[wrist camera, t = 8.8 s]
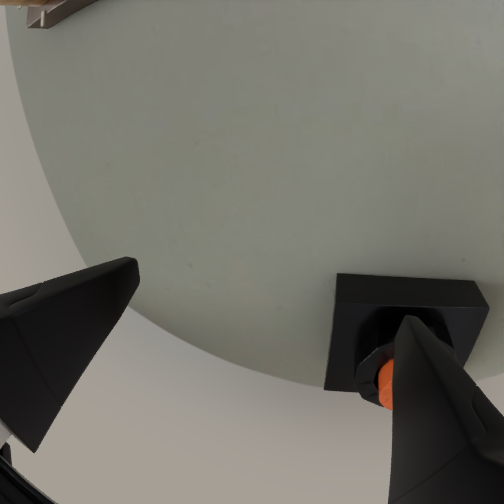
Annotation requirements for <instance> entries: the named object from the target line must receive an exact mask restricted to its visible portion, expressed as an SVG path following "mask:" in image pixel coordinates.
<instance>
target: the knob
mask: <svg viewBox="0 0 504 504" xmlns="http://www.w3.org/2000/svg"><path fill="white" fill-rule="evenodd" d="M47 1H48V0H0V5H15V6H33V7H39V6H41V5H43V4H45V3H46V2H47Z"/></svg>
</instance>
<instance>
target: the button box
mask: <svg viewBox="0 0 504 504" xmlns="http://www.w3.org/2000/svg"><path fill="white" fill-rule="evenodd" d="M489 309H490V308H489V306H488V304H487V302H486V300H485V298H484V297H483V295H482V293H481V291H480V290H479V288H478V286H477V285H476V283H475V281H467V280H446V279H426V278H407V277H389V276H372V275H356V274H340V273H337V277H336V289H335V300H334V310H333V319H332V328H331V336H330V344H329V352H328V360H327V368H326V376H325V383H324V390H328V391H342V392H359V393H360V395H361V397H362V398H363V399H365V400H367V401H369V402H372V403H374V404H376V405H379V406H382V407H384V406H383V405H382V404H381V403H380V401H379V382H378V375H379V371H380V369H381V368H382V366H383V365H384V364H385V363H386V362H387V361H388V360H390V359H392V358H394V342H395V337H396V334H397V332H398V329H399V327H400V325H401V323H402V320H403V318H404V317H405V316H406V315H410V316H416V317H418V318H419V319H420V320H421V321H422V322H423V323H424V324H425V326H426V327H427V328H428V329H429V330H430V331H431V332H432V333H433V334H434V335H435V337H436V338H437V339H438V340H439V341H440V342H441V343H442V344H443V346H444V347H445V348H446V349H447V350H448V351H449V352H450V354H451V355H452V356H453V357H454V358H455V359H456V361H457V362H458V363H459V364H460V365H461V366H462V368H463V367H464V365H465V363H466V361H467V359H468V357H469V355H470V353H471V351H472V349H473V347H474V345H475V342H476V340H477V338H478V336H479V333H480V331H481V329H482V326H483V324H484V321H485V319H486V317H487V314H488V311H489Z"/></svg>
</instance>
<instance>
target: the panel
mask: <svg viewBox="0 0 504 504" xmlns="http://www.w3.org/2000/svg"><path fill="white" fill-rule="evenodd" d="M95 1H97V0H48V1H47V2H46V3H45V4H43V5H41V6H39V7H33V6H28V15H27V28H44V29H48V28H50V27H51V26H53V25H55V24H56V23H58V22H59V21H61V20H63V19H64V18H66V17H68V16H69V15H71V14H73V13H75V12H76V11H78V10H80V9H82V8H83V7H85V6H87V5H89V4H91V3H93V2H95ZM21 7H22V6H18V9H20V8H21Z"/></svg>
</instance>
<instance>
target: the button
mask: <svg viewBox="0 0 504 504" xmlns="http://www.w3.org/2000/svg"><path fill="white" fill-rule="evenodd" d="M393 361H394V358H392V359H390V360H388V361H387V362H386V363H385V364H384V365H383V366H382V368H381V369H380V371H379V375H378V382H379V401H380V403H381V404H382V405H383V406H384V407H385V408H387V409H390V410H393V409H392V375H393Z"/></svg>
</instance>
